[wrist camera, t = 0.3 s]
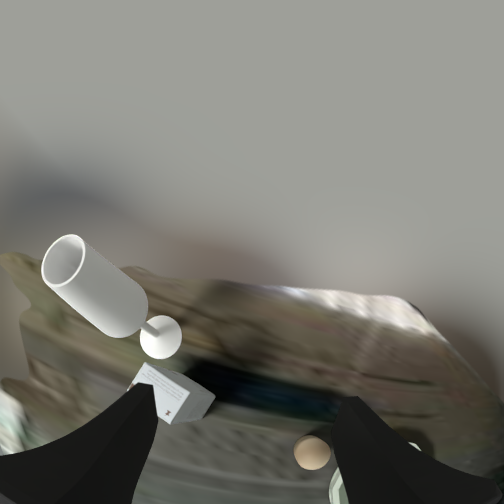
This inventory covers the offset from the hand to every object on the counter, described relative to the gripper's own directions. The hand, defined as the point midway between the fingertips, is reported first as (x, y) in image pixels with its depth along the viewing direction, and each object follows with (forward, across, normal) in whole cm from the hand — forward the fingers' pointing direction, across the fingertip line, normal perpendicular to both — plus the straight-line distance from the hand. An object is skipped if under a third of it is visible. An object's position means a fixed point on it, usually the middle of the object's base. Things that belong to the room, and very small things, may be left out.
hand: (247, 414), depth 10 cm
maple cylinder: (+17, -10, +23) cm, 30 cm away
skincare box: (+23, +7, +20) cm, 31 cm away
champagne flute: (+29, +12, +14) cm, 34 cm away
